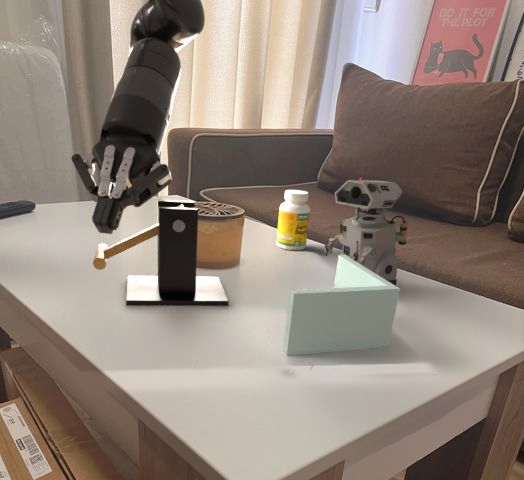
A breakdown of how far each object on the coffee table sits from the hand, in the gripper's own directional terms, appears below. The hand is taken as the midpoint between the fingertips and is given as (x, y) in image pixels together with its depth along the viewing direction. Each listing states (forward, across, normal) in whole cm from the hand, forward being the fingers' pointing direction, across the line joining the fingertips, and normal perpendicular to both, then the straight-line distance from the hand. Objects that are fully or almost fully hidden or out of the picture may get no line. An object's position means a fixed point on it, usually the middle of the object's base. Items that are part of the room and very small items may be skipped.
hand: (103, 229), depth 62 cm
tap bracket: (+4, +8, +7) cm, 12 cm away
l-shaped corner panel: (+8, +26, +4) cm, 28 cm away
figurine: (-7, +31, +19) cm, 37 cm away
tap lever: (+1, +5, +1) cm, 5 cm away
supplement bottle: (-18, +20, +30) cm, 40 cm away
